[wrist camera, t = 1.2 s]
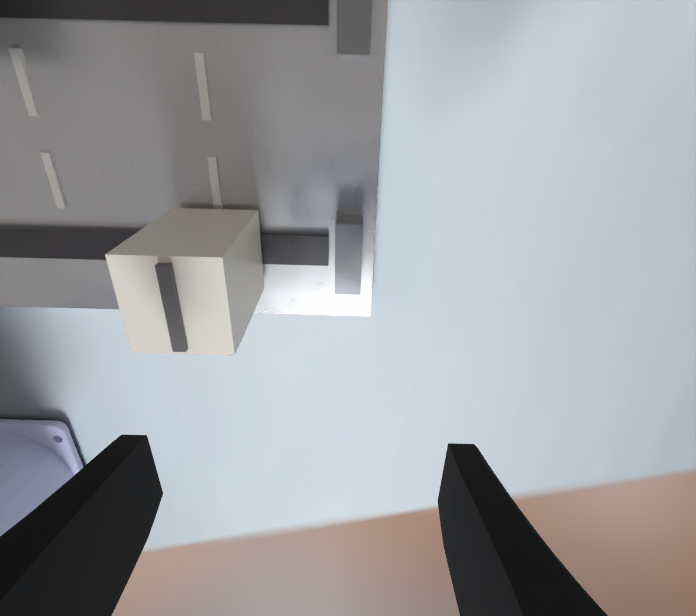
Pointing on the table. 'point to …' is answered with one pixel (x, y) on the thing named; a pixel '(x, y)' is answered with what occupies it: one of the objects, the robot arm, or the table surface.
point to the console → (190, 139)
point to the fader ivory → (189, 281)
